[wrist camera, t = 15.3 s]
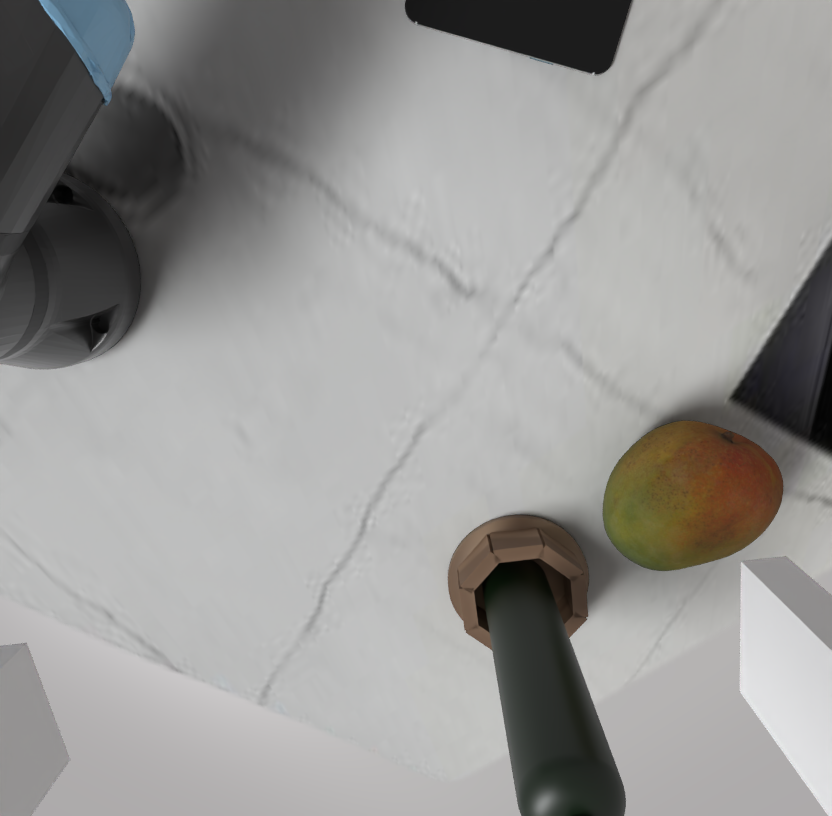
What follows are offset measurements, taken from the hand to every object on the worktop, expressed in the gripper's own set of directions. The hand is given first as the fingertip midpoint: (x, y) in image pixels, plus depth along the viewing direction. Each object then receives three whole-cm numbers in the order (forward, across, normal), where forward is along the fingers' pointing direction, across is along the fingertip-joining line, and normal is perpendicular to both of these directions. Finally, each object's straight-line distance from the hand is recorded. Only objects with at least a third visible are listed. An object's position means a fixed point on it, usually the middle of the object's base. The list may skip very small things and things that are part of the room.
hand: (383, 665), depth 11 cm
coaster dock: (+37, +6, -22) cm, 43 cm away
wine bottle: (+36, +6, -22) cm, 43 cm away
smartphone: (+37, +10, +23) cm, 45 cm away
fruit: (+37, +19, -14) cm, 44 cm away
